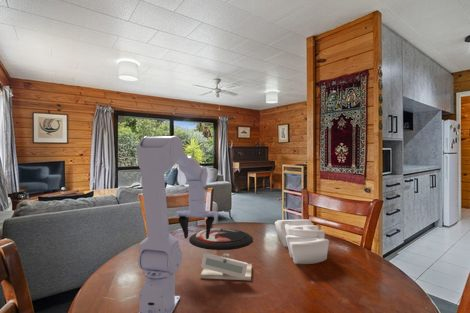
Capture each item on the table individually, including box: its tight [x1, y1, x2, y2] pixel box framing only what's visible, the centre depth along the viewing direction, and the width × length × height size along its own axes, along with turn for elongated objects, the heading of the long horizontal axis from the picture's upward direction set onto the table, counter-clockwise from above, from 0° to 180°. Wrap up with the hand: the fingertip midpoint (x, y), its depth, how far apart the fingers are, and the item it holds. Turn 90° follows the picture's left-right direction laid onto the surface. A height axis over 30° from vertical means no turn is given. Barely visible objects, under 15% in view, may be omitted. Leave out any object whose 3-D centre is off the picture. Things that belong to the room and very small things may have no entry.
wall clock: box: [188, 227, 254, 251], centre depth 113 cm, size 27×5×30 cm
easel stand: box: [200, 253, 253, 281], centre depth 80 cm, size 9×16×7 cm, turn 85°
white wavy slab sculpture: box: [274, 219, 330, 265], centre depth 99 cm, size 35×16×11 cm, turn 178°
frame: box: [200, 252, 249, 278], centre depth 75 cm, size 2×14×4 cm, turn 85°
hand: (196, 237), depth 85 cm, fingers open, 7 cm apart
